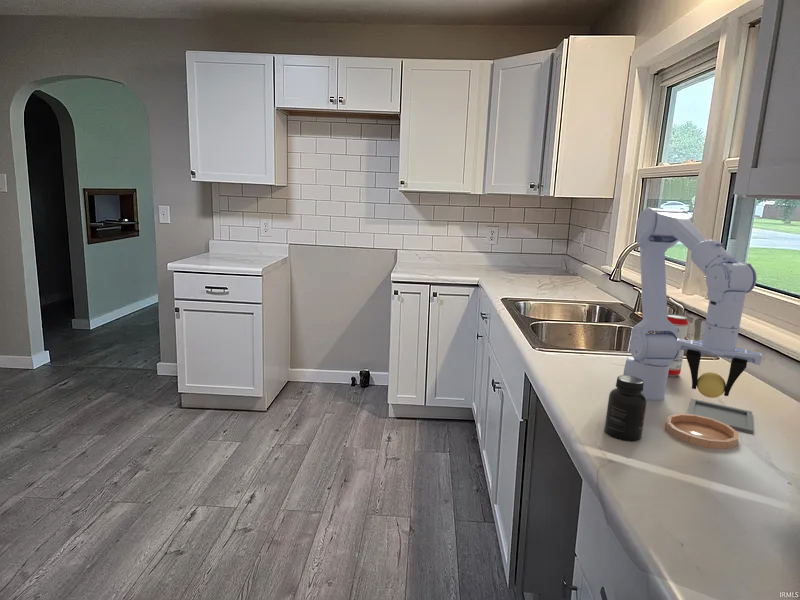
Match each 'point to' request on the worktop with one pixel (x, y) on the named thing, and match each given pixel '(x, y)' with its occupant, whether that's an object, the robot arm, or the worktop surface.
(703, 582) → the worktop surface
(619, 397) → the supplement bottle
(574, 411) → the worktop surface
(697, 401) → the tray
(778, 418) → the worktop surface
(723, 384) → the ball
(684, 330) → the beer can
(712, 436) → the bowl
